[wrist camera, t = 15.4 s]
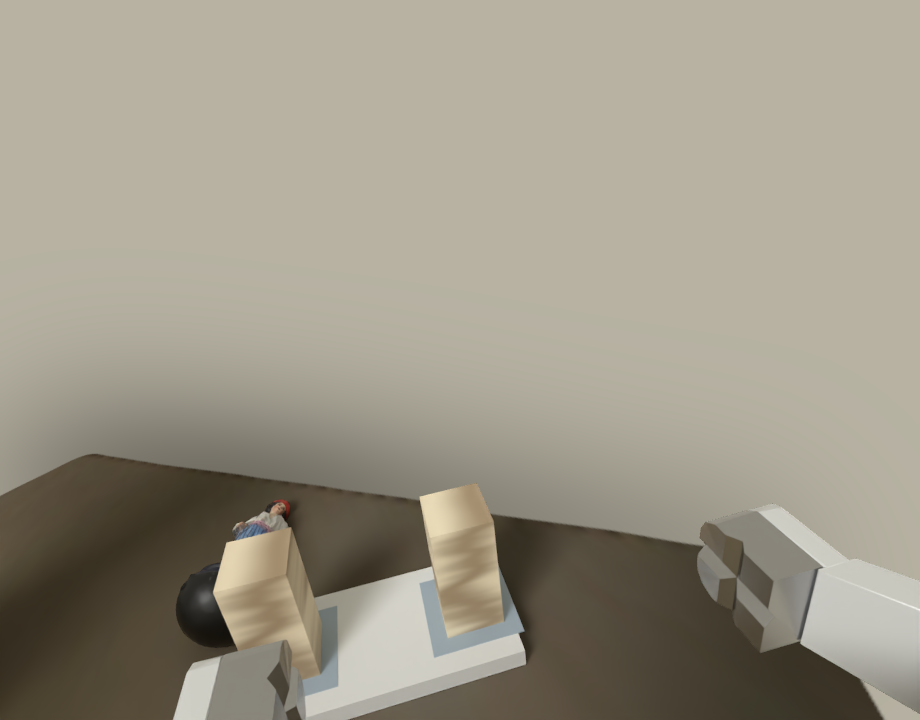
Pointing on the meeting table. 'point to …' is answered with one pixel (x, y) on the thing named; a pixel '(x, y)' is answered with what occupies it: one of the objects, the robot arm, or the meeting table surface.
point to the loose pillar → (463, 558)
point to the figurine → (196, 594)
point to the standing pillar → (270, 598)
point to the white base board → (400, 647)
